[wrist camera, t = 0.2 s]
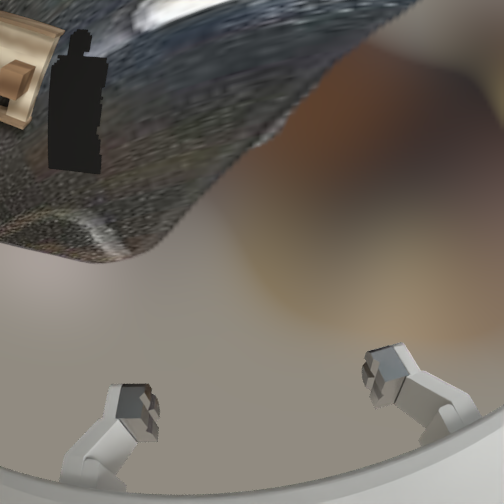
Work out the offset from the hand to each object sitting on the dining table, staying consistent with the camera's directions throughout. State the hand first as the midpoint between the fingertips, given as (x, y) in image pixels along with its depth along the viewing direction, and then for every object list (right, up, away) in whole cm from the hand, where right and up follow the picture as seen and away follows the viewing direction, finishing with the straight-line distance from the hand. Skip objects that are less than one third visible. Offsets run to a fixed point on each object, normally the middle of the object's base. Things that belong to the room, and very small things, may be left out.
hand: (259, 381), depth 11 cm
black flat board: (-33, +32, +37) cm, 59 cm away
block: (-41, +36, +26) cm, 60 cm away
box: (-47, +40, +24) cm, 66 cm away
